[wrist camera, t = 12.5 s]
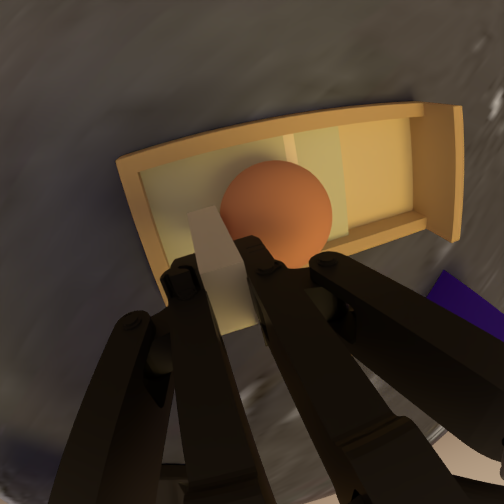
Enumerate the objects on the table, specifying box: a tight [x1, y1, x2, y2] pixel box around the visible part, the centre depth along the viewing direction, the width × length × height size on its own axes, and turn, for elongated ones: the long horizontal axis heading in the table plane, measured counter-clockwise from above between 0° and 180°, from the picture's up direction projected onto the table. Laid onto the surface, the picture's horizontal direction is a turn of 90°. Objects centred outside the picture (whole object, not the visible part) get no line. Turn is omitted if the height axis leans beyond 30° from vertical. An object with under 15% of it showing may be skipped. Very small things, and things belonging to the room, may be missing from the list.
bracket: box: [426, 270, 504, 342], centre depth 29 cm, size 18×11×12 cm, turn 61°
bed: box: [116, 101, 464, 307], centre depth 19 cm, size 22×10×5 cm, turn 100°
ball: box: [220, 160, 332, 269], centre depth 17 cm, size 6×6×6 cm
